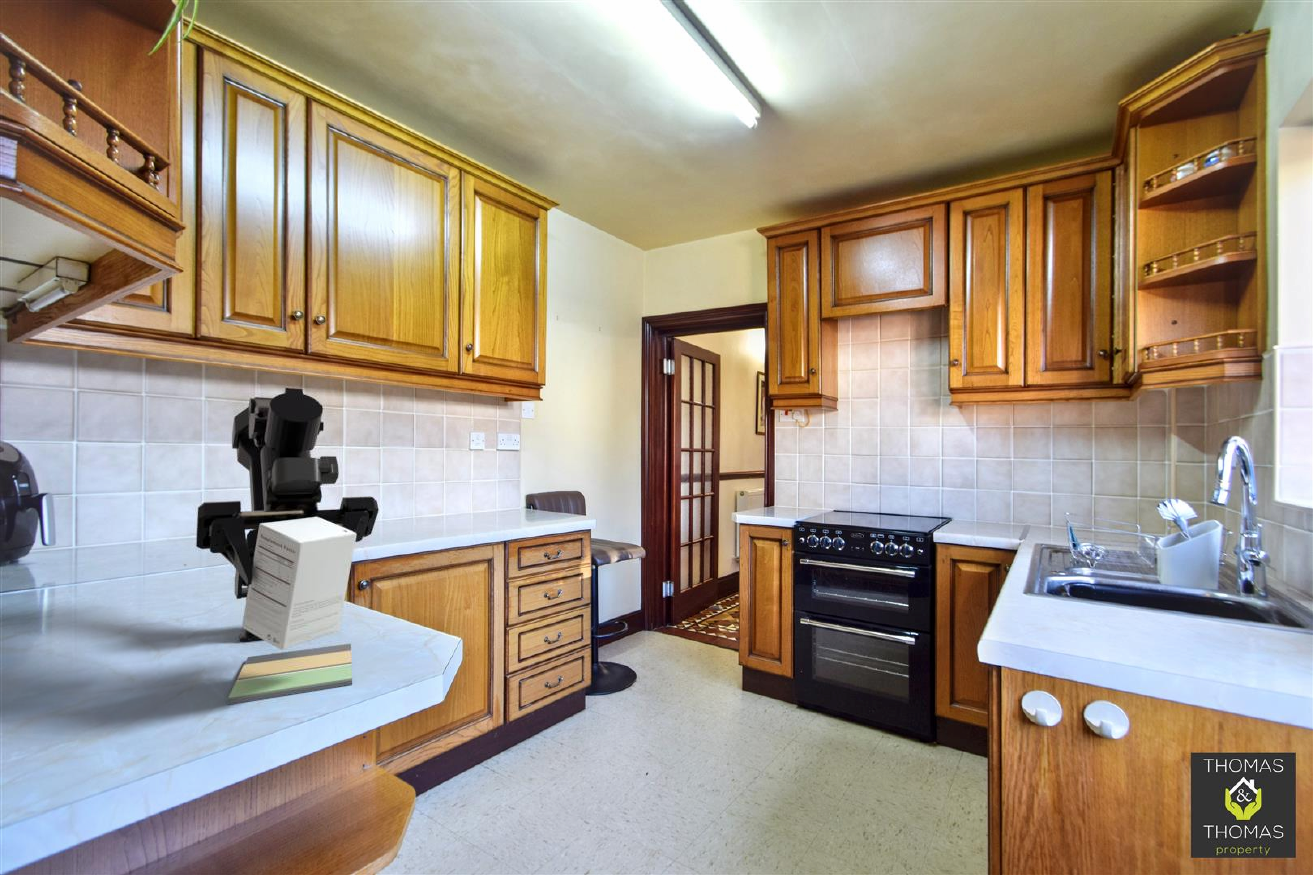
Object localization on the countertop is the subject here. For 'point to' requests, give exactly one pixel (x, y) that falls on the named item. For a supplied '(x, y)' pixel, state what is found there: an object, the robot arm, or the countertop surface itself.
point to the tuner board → (292, 673)
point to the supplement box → (298, 580)
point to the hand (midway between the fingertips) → (298, 577)
